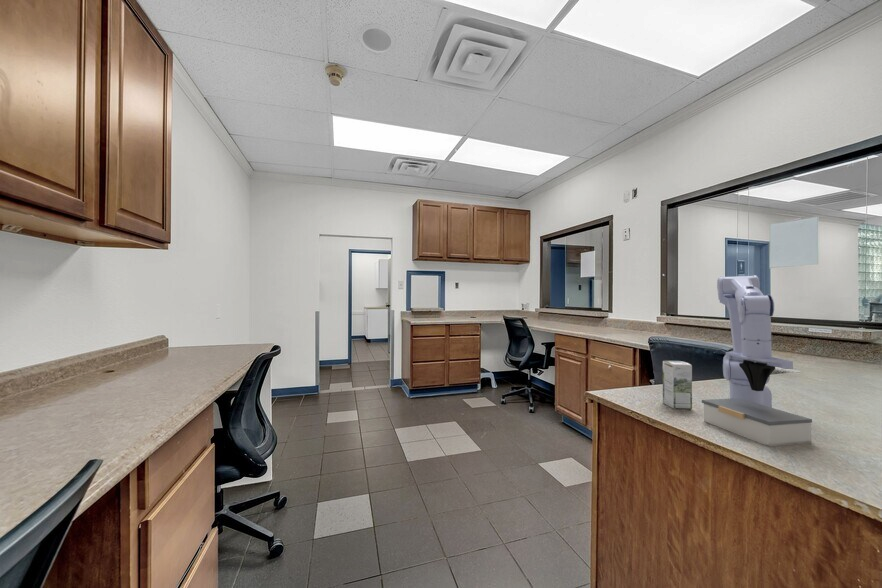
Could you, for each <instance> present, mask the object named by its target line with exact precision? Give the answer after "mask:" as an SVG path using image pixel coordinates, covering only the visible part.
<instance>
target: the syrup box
mask: <svg viewBox="0 0 882 588" xmlns="http://www.w3.org/2000/svg"><path fill="white" fill-rule="evenodd" d="M662 403H663V404H664V405H666V406H667V407H670V408H672V409H674V408H679V409H681V410H693V365H692V364H691V363H689V362H686V361H681V360H662ZM679 409H678V410H679Z"/></svg>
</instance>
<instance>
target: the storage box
mask: <svg viewBox="0 0 882 588" xmlns="http://www.w3.org/2000/svg"><path fill="white" fill-rule="evenodd" d="M703 421H704V422H705V423H708V424H711V425H713V426H715V427H718V428H721V429H723V430H726V431H729V432H731V433H734V434H736V435H739V436H741V437H744V438H747V439H749V440H752V441H754V442H756V443H759V444H762V445H763V446H766V447H768V448H772V447H784V446H785V447H787V446H795V445H806V444H808V445H809V444H812V423H797V424H780V425H767V424H764V423H761V422H758V421H755V420H752V419H749V418H746V417H745V419H740V418H737V417H734V416H731V415H728V414H725V413H722V412H719V411H718V408H716V407H713V406H710V405H707V404H704V403H703Z"/></svg>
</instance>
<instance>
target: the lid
mask: <svg viewBox="0 0 882 588" xmlns="http://www.w3.org/2000/svg"><path fill="white" fill-rule="evenodd" d="M701 404H703V405H704V404H707V405H710V406H713V407H716V408H718V411H719V412H722V413H725V414H728V415H731V416H734V417H737V418H740V419H745V417H746V418H749V419H752V420H755V421H758V422H761V423H764V424H767V425H780V424H797V423H811V424H812V423H813V419H812V418H809V417H805V416H802V415H798V414H794V413H791V412H788V411H784V410H781V409H778V408H774V407H772V408H771V407H767V406H764V405H760V404H757V403H753V402H750V401H746V400H743V399H739V398H732V399H730V398H713V399H711V398H710V399H701Z"/></svg>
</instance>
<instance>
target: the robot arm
mask: <svg viewBox="0 0 882 588" xmlns="http://www.w3.org/2000/svg"><path fill="white" fill-rule="evenodd" d="M716 280H717V281H716V284H717V285H716V286H717V287H716V288H717V295H718V296H717V297H718V300H719V303H720V304H723V305H724V306H726V309H727V311H728V315H729V326H730V333H731V341H732V349H733V350H732V351H726V352H725V354H724V356H723V359H722V373H723V374H722V375H723V378H724V379H725V381H729V399H732V398H739V399H743V400H746V401H750V402H753V403H757V404H760V405H764V406H767V407H771V408H773V401H772V400H773V399H772V398H773V397H772V396H773V394H772V390H771V389H770V388H769V387H768V386H767V384H768V383H769V382H770V377H771V374H772V373H773V371H775V370H776V368H781V369H783V370H793V369H794V364H793V363H794V362H793V360H787V359H783V358H777V357H773V351H772V317H773V316H774V314H775V301H774V298H773V296H772V294H766V295H765V294H764V293H763V292H762V290H760V289H761V288H760V287H761V284H760V278H759V277H758V275H757V274H756V275H755V274H753V275H740V276H739V275H738V276H719V277H718V278H717V279H716Z"/></svg>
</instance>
